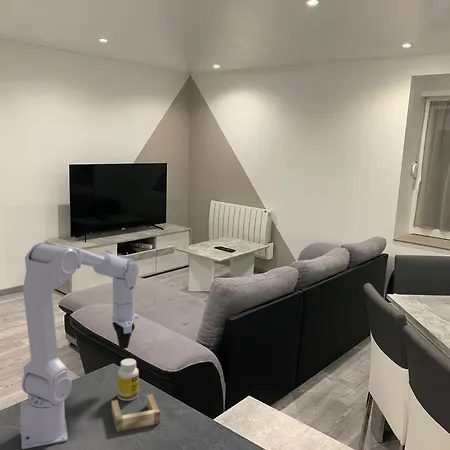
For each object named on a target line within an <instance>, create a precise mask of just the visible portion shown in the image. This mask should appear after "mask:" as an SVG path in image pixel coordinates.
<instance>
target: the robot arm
mask: <svg viewBox="0 0 450 450" xmlns="http://www.w3.org/2000/svg"><path fill="white" fill-rule="evenodd" d="M24 260H25V261H24V263H25V276H24V281H23V286H22V289H23V290H22V291H23V300H24V309H25V318H26V326H27V335H28V343H29V351H30V359H31V360H30V361H28V362H27V363H26V364H25V365H24V366H23V376H22V381H21V389H22V391H23V392H24V393H26V394H27V399H26V400H23V401H21V402H20V427H19V434H20V435H21V438H20V439H21V449H22V450H25V449H26V450H27V449H33V448H34V447H35V448H36V447H41V446H46V445H51V444H57V443H61V442H62V443H63V442H66V441H68V427H67V426H68V425H67V419H66V414H65V413H66V412H65V411H66V410H65V400H66V399H67V398H68V396H69V395H70V393H71V390H72V383H73V382H72V379H71V376H70V375H69V374H68V373H69V372H68V367H67V366H66V365H65V364H64V363H63V361H62V360H61V359H60V358H59V355H58V354H59V351H58V344H57V343H58V342H57V334H56V323H55V314H54V303H53V292H54V291H55V290H57V289H59V288H60V287H61V286H62V285H63V284H64V283H65V282H66V281H67V280H68V279H70V278H71V276H73V275H74V274H75V273H76V271H77V269H81V266H82V265H84V266H88V267H92V268H93V271H94V272H95V273H96V274H99V275H101V276H106V277H109V278H112V316H111V320H112V321H113V322H112V323H111V325H112V326H113V329H114V331H115V333H116V337H117V343H118V347H119V349H121V350H124V349H128V348H129V344H130V341H131V340H130V339H131V336H132V333H133V331H134V330H135V328H136V326H135V324H134V321H135V320H137V319H139V314H138V313H135V286H136V284H137V278H138V275H139V272H140V267H139V265H138V263H137V262H136V261H135V259H130V258H124V255H122V254H117V255H116V254H114V251H112V250H108V249H107V250H105V251H100V252H98V253H97V254H96V253H94V252H91V251H88V250H85V249H83V248H80V247H75V246H69V245H61V244H47V243H45V242H38V243H36V244H34V245H33V246H32V247H31V249H29V251H28V252H27V253H26V255H25V257H24Z"/></svg>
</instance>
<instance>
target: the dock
mask: <svg viewBox="0 0 450 450" xmlns="http://www.w3.org/2000/svg"><path fill="white" fill-rule="evenodd" d="M146 407H147V410H145V411H140V412H134V413H127V414H122V412H121V407H120V405H119V401H118V399H115V400H111V415H112V419H113V423H114V427H115V431H116V432H123V431H126V430H127V431H128V430H131V429H139V428H142V427H143V428H144V427H147V426H148V427H149V426H153V425H159V424H161V410H160V409H159V407H158V404H157V401H156V400H155V396H154V394H152V393H150V394H146Z"/></svg>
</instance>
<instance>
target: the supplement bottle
mask: <svg viewBox="0 0 450 450" xmlns="http://www.w3.org/2000/svg"><path fill="white" fill-rule="evenodd" d="M139 375H140V374H139V368H137V361H136V360H135V359H134V358H125V359H123V360H121V361H120V368H119V369H118V371H117V397H118V399H119V400H121V401H124V402H125V401H127V402H128V401H133V400H135V399H136V398H137V397H138V396H139V380H140V379H139Z"/></svg>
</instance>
